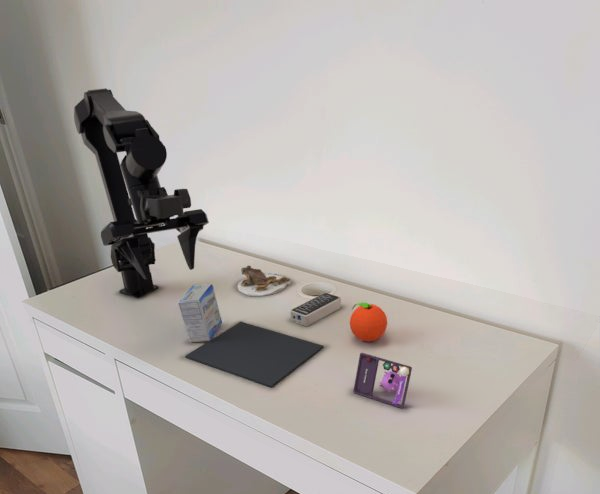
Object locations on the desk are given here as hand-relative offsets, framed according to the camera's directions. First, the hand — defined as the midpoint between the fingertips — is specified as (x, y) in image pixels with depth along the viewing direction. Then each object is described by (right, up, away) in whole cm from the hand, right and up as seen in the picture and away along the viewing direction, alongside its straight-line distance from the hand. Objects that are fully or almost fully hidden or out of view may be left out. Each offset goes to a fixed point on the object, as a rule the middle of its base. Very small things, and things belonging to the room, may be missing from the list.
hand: (169, 273), depth 111 cm
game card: (+37, -22, -11) cm, 44 cm away
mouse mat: (+15, -14, +3) cm, 21 cm away
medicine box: (+5, -10, +10) cm, 15 cm away
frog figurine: (+15, +2, +29) cm, 33 cm away
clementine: (+36, -11, +5) cm, 38 cm away
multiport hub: (+27, -6, +15) cm, 31 cm away
